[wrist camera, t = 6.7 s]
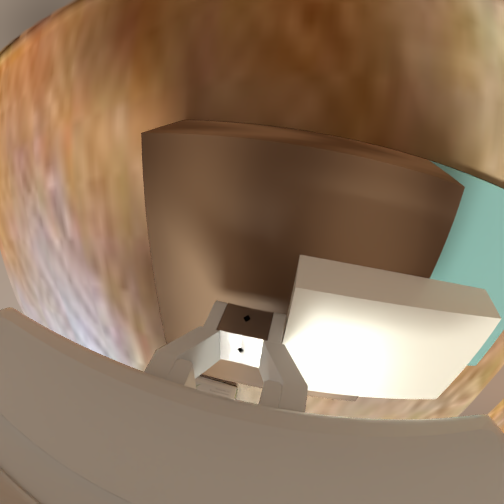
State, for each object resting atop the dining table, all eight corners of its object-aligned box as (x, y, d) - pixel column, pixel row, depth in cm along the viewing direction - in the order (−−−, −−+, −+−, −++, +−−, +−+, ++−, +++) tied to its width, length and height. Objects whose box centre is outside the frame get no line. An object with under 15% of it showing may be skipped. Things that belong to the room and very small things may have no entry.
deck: (428, 160, 11) (464, 186, 8) (354, 354, 19) (355, 401, 15) (185, 119, 13) (141, 132, 9) (192, 323, 20) (171, 365, 17)
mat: (558, 217, 10) (561, 219, 9) (474, 362, 17) (475, 365, 17) (428, 160, 11) (430, 161, 11) (354, 354, 19) (354, 357, 18)
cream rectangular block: (485, 289, 10) (501, 318, 8) (430, 370, 13) (435, 399, 11) (300, 254, 11) (295, 287, 9) (278, 352, 14) (271, 384, 12)
